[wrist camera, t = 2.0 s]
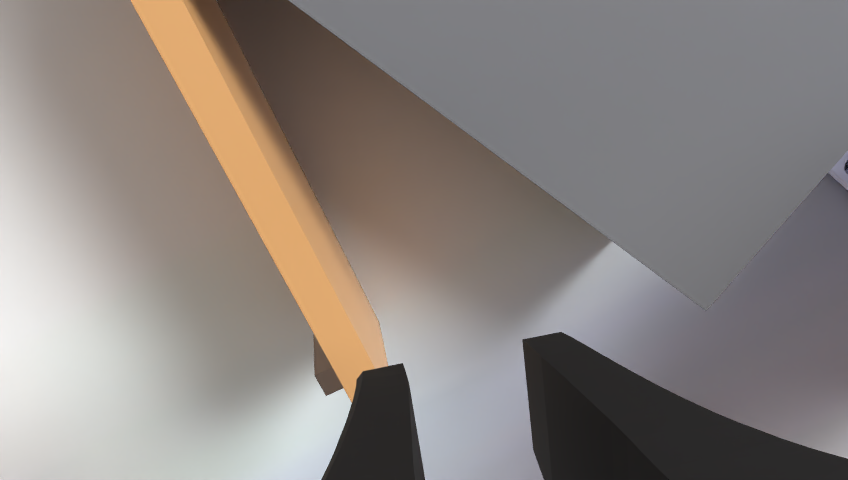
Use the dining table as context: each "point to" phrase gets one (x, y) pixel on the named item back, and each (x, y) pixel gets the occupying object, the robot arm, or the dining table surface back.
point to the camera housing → (634, 109)
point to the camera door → (268, 184)
